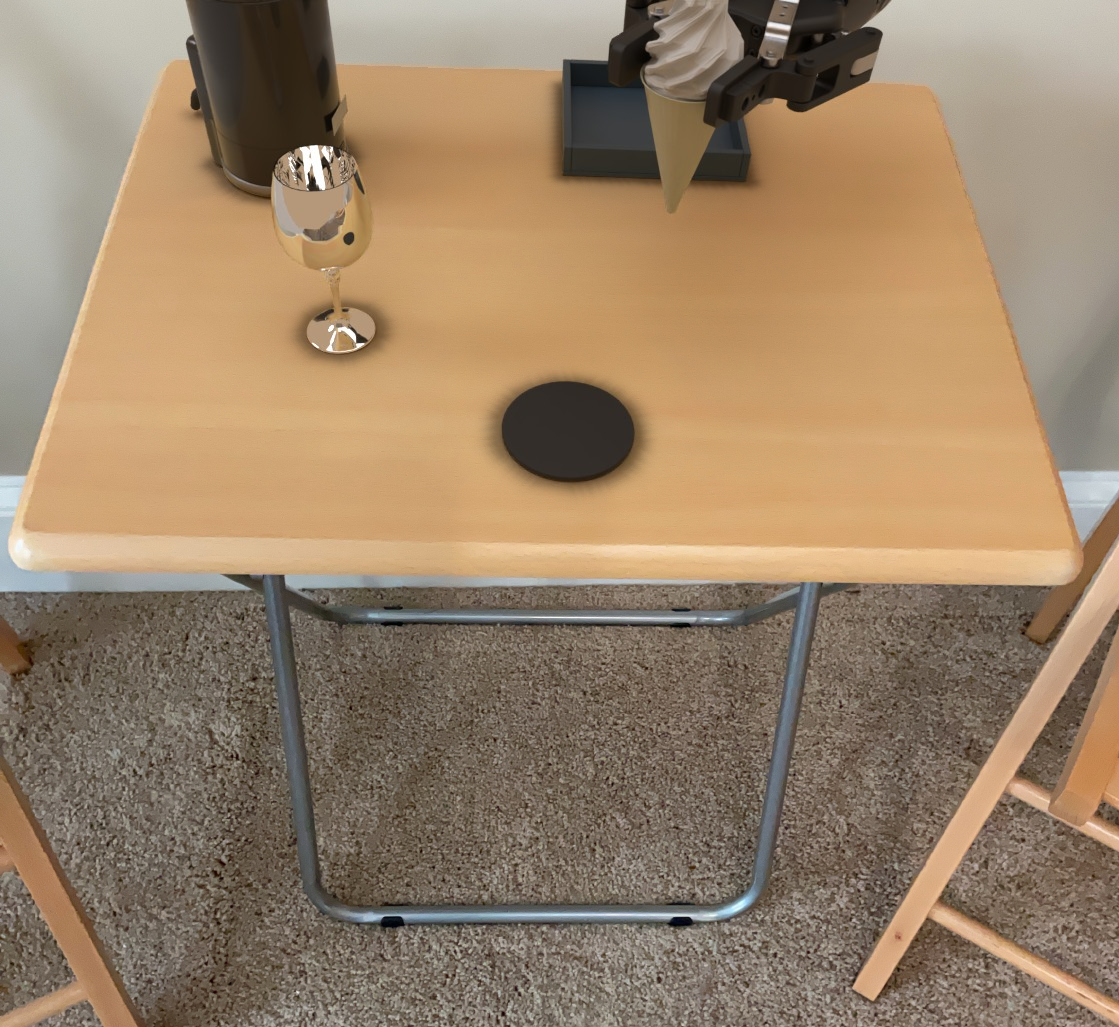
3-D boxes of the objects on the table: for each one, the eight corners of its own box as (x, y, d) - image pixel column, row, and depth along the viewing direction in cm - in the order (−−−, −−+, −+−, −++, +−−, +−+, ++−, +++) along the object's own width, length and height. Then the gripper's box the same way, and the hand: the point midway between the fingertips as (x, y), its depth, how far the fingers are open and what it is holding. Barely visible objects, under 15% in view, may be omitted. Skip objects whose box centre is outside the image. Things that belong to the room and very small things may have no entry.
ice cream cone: (652, 247, 57) (687, -36, 45) (612, 196, 60) (635, -83, 48) (732, 226, 58) (785, -54, 46) (688, 178, 61) (729, -98, 49)
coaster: (476, 447, 62) (476, 442, 61) (544, 368, 66) (544, 364, 66) (594, 501, 59) (594, 497, 59) (656, 416, 64) (656, 412, 64)
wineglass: (313, 371, 65) (281, 208, 56) (284, 316, 68) (249, 152, 59) (399, 345, 67) (382, 182, 58) (367, 292, 70) (345, 130, 61)
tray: (562, 175, 80) (564, 147, 78) (561, 86, 88) (563, 58, 86) (745, 181, 80) (751, 154, 78) (727, 92, 88) (732, 65, 87)
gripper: (730, -137, 59) (549, -37, 50) (965, -61, 54) (808, 64, 45) (710, -4, 65) (544, 106, 56) (920, 75, 60) (773, 210, 51)
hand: (663, 87), depth 51 cm, fingers closed on ice cream cone, 5 cm apart
